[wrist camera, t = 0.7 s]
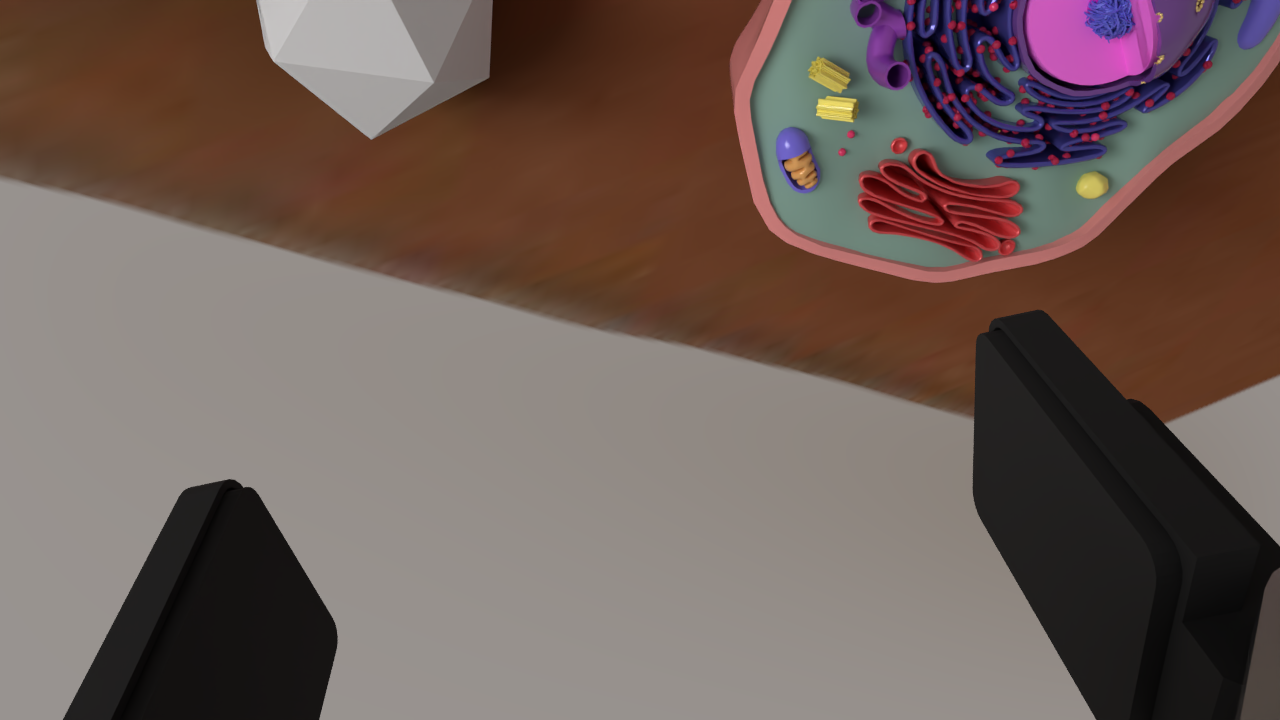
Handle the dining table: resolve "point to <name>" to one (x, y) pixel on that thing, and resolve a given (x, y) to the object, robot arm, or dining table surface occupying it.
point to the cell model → (979, 119)
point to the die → (380, 53)
